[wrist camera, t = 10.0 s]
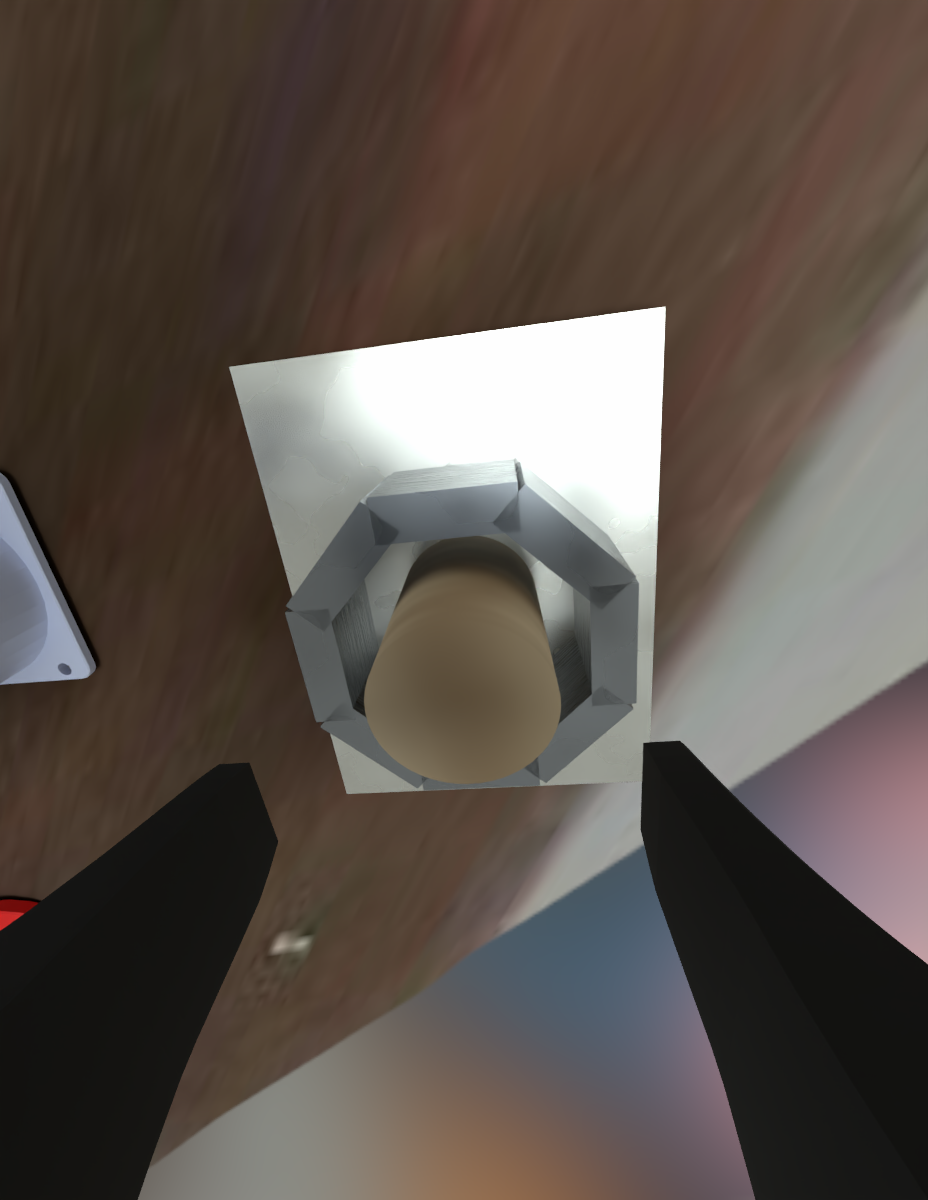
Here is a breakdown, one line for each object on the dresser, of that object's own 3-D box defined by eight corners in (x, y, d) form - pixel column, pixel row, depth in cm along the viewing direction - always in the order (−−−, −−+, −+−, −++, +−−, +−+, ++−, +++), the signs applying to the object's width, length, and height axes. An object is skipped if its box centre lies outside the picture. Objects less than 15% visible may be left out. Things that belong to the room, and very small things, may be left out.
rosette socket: (353, 776, 22) (319, 870, 18) (245, 367, 15) (152, 364, 11) (641, 762, 20) (677, 860, 16) (654, 310, 14) (718, 285, 10)
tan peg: (420, 665, 18) (392, 793, 12) (389, 548, 16) (339, 638, 11) (544, 646, 17) (571, 771, 12) (526, 524, 16) (547, 605, 10)
